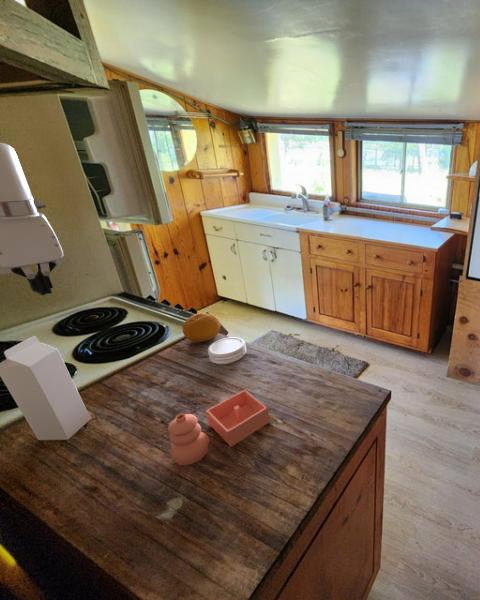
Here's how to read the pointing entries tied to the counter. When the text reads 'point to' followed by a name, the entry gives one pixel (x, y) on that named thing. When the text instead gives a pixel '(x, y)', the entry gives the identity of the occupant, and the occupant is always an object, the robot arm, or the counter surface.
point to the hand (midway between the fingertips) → (44, 292)
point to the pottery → (216, 426)
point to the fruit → (201, 327)
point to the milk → (43, 390)
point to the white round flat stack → (227, 350)
